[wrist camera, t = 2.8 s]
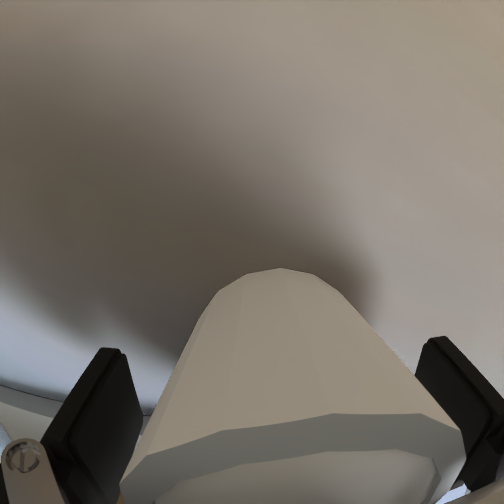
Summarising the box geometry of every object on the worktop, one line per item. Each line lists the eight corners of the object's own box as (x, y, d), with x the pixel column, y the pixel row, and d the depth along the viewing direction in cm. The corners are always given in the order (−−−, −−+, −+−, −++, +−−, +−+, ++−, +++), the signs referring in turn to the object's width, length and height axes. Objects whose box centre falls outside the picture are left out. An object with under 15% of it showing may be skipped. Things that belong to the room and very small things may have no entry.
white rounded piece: (402, 336, 11) (495, 474, 4) (270, 432, 12) (280, 575, 6) (282, 203, 10) (356, 315, 3) (141, 338, 11) (64, 499, 4)
